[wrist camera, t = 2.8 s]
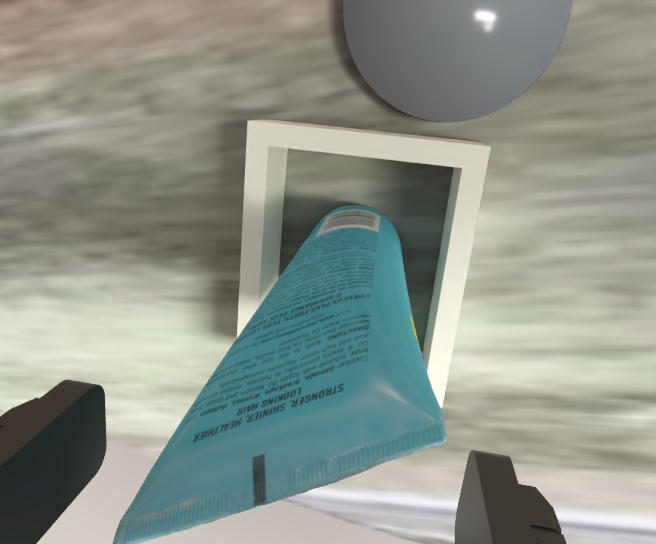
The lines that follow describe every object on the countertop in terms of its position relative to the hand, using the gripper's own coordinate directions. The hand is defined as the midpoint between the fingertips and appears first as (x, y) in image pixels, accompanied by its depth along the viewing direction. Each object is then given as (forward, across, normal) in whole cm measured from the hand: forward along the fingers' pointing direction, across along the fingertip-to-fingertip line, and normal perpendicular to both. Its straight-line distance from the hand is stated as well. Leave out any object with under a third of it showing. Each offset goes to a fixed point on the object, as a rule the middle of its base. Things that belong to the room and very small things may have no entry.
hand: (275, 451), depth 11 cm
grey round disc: (+18, -3, -12) cm, 22 cm away
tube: (+18, 0, 0) cm, 18 cm away
